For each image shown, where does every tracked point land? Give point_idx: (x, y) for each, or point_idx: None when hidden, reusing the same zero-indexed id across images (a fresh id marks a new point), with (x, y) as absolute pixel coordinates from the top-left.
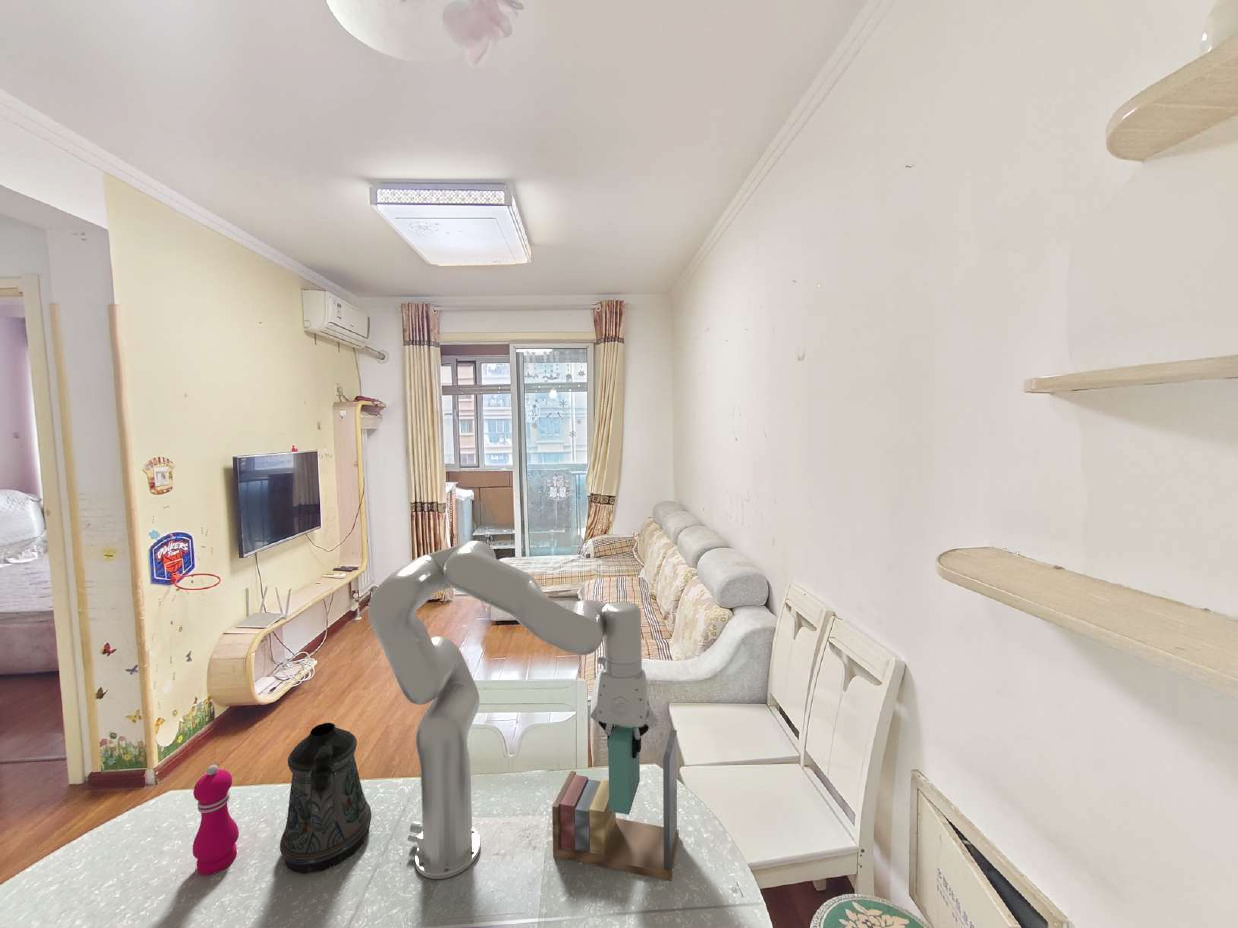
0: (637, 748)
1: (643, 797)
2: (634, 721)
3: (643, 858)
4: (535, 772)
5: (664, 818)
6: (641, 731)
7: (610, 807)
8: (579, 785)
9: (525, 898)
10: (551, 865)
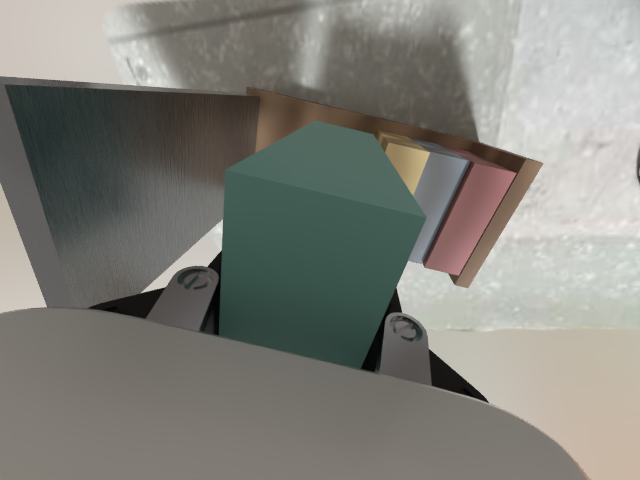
0: None
1: None
2: (53, 371)
3: (300, 124)
4: (496, 327)
5: (209, 93)
6: (151, 305)
7: (370, 134)
8: (449, 239)
9: (552, 25)
10: (484, 118)
